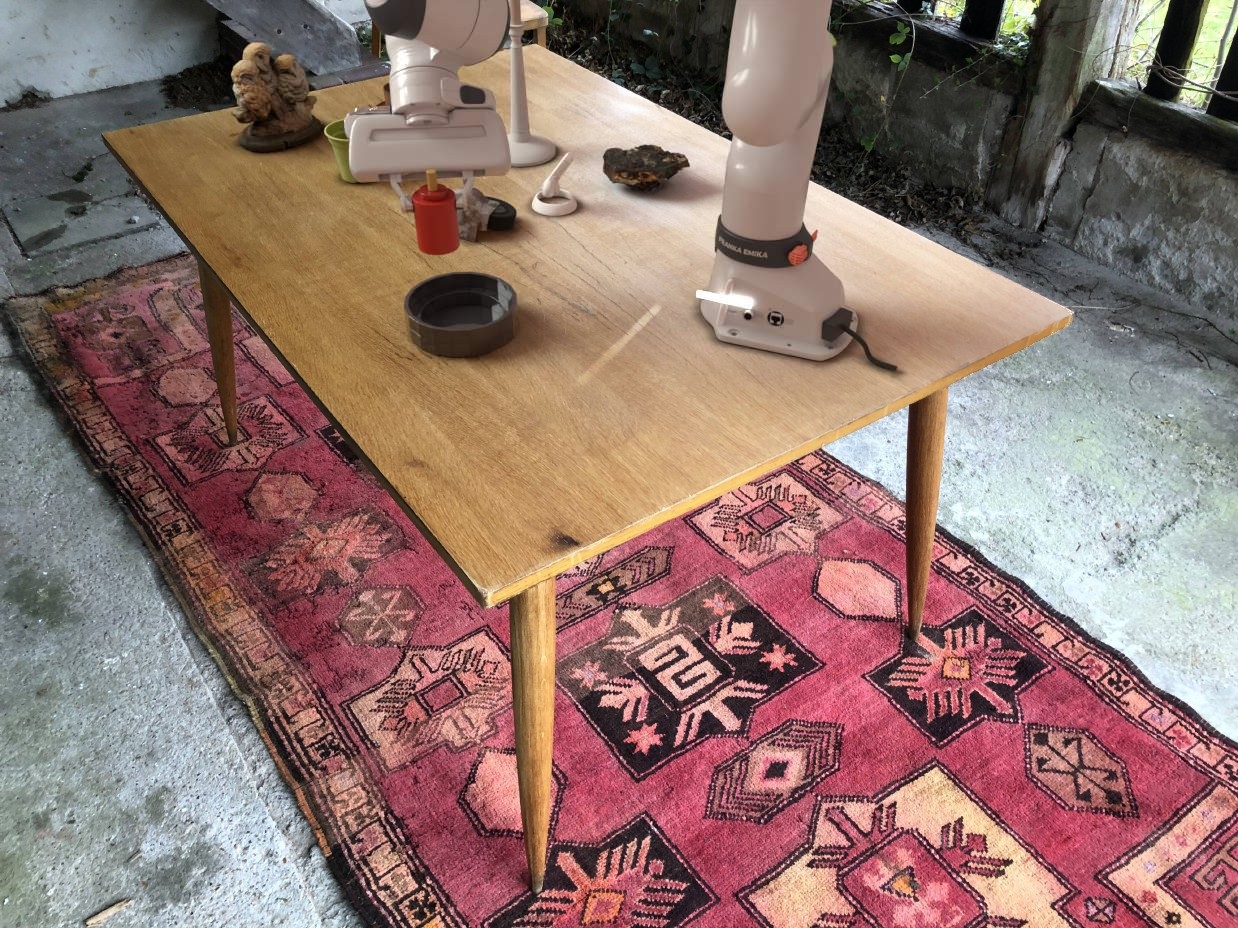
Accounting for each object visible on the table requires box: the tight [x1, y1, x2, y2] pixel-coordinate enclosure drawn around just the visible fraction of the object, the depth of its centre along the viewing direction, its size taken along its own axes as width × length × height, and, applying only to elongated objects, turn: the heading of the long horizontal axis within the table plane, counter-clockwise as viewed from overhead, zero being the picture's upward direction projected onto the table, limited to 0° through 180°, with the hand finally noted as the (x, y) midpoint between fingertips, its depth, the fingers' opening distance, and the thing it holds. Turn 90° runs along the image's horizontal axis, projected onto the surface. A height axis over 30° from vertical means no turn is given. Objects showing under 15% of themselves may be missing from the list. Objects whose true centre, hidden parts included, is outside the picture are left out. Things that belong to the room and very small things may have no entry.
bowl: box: [403, 271, 519, 358], centre depth 135 cm, size 15×15×5 cm
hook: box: [531, 152, 578, 217], centre depth 163 cm, size 8×12×7 cm
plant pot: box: [323, 118, 366, 184], centre depth 170 cm, size 9×9×9 cm
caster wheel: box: [453, 186, 518, 243], centre depth 158 cm, size 7×11×10 cm
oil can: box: [411, 169, 461, 256], centre depth 124 cm, size 5×5×10 cm
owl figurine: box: [230, 42, 323, 153], centre depth 179 cm, size 18×12×17 cm, turn 148°
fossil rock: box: [602, 144, 691, 193], centre depth 171 cm, size 14×14×6 cm
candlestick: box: [507, 0, 557, 168], centre depth 172 cm, size 13×13×30 cm
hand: (435, 210), depth 124 cm, fingers closed on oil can, 5 cm apart
